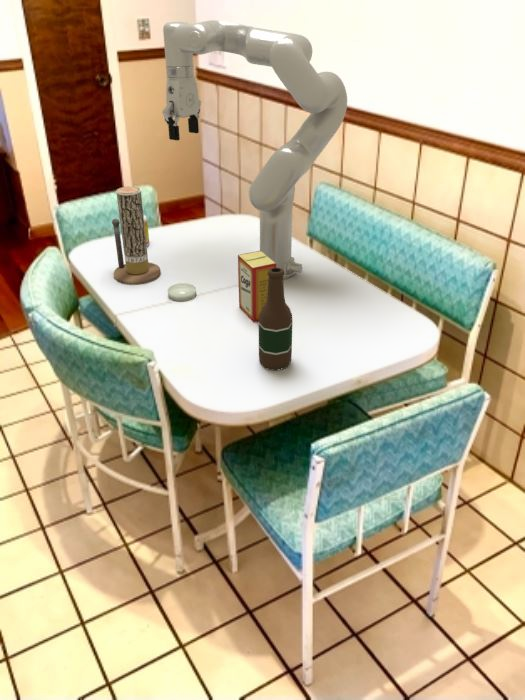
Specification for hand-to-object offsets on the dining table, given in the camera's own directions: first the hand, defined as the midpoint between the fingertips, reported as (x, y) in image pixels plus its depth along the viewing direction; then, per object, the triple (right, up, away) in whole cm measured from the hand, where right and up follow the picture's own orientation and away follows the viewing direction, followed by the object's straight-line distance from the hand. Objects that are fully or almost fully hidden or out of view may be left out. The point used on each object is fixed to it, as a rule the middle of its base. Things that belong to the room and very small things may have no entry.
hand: (184, 136), depth 184 cm
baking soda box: (+21, -52, -11) cm, 57 cm away
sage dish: (0, -46, -2) cm, 46 cm away
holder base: (-16, -39, +10) cm, 43 cm away
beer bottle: (+26, -65, -33) cm, 77 cm away
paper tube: (-15, -38, +9) cm, 42 cm away
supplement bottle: (-19, -27, +30) cm, 44 cm away
